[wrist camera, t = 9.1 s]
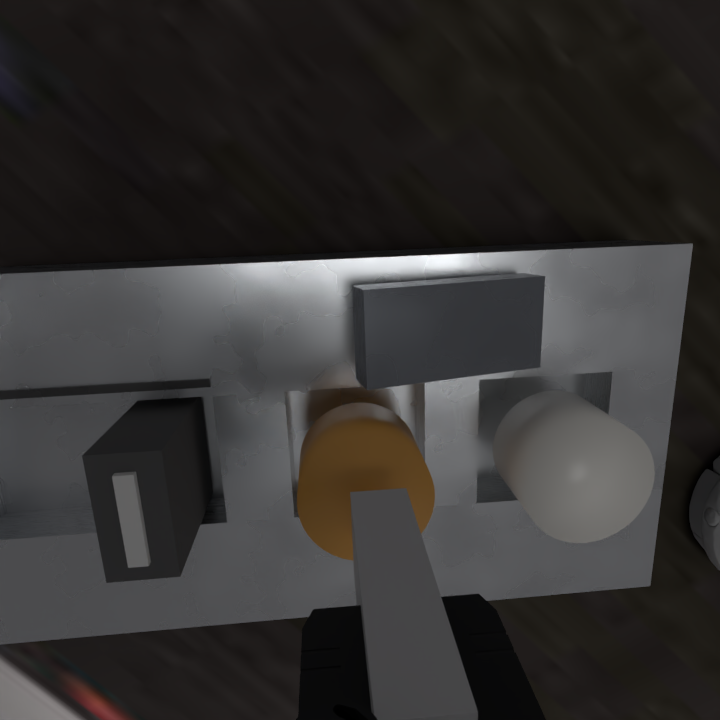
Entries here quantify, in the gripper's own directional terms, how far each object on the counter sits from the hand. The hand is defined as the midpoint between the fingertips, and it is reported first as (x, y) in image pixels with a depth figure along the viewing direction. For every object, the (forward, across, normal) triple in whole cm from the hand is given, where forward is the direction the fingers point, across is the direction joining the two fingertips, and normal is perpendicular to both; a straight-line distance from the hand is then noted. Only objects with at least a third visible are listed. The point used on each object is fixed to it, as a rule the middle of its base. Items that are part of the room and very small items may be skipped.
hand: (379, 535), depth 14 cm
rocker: (+4, +3, +5) cm, 7 cm away
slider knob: (+7, -7, 0) cm, 10 cm away
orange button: (+5, 0, 0) cm, 5 cm away
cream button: (+5, +7, 0) cm, 8 cm away
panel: (+9, -2, 0) cm, 10 cm away
